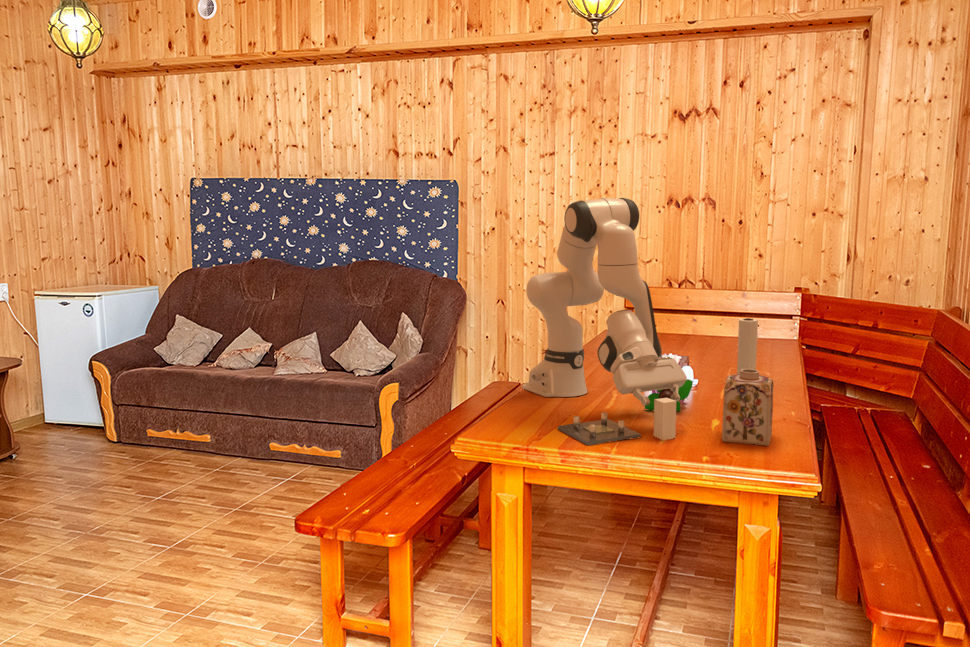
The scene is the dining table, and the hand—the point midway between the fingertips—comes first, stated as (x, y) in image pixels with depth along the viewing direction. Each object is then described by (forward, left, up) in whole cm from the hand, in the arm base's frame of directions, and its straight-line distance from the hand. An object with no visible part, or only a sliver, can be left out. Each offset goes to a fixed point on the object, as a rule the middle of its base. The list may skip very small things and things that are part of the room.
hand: (661, 402), depth 212 cm
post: (+1, 0, -9) cm, 9 cm away
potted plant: (-20, +32, -10) cm, 39 cm away
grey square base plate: (-13, -10, -9) cm, 19 cm away
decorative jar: (+16, +15, -9) cm, 24 cm away
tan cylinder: (-19, +72, -9) cm, 75 cm away
